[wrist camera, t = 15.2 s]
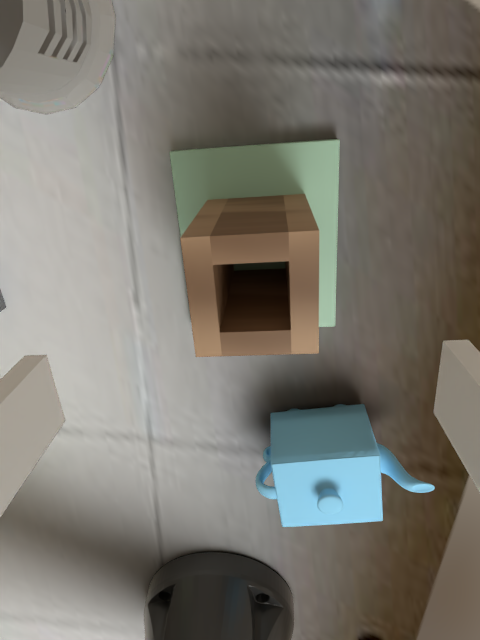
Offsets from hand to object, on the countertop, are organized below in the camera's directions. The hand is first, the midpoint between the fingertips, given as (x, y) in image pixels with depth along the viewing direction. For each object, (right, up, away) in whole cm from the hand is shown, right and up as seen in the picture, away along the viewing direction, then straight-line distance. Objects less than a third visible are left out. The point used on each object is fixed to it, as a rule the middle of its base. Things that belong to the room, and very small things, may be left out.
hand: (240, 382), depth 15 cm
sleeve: (+1, +7, +14) cm, 15 cm away
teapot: (+7, -7, +21) cm, 23 cm away
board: (+1, +7, +14) cm, 16 cm away
